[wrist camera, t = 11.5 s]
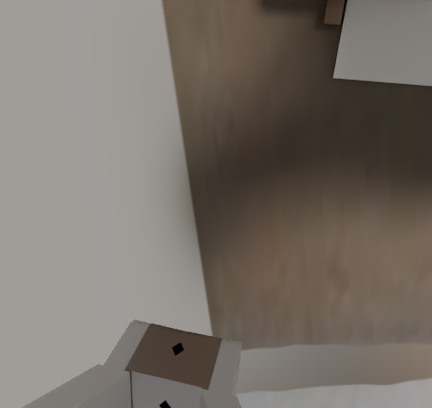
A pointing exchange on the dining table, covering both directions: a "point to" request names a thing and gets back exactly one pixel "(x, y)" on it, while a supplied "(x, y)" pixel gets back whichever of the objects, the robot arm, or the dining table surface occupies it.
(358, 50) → the mat
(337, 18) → the strip
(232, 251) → the dining table surface
